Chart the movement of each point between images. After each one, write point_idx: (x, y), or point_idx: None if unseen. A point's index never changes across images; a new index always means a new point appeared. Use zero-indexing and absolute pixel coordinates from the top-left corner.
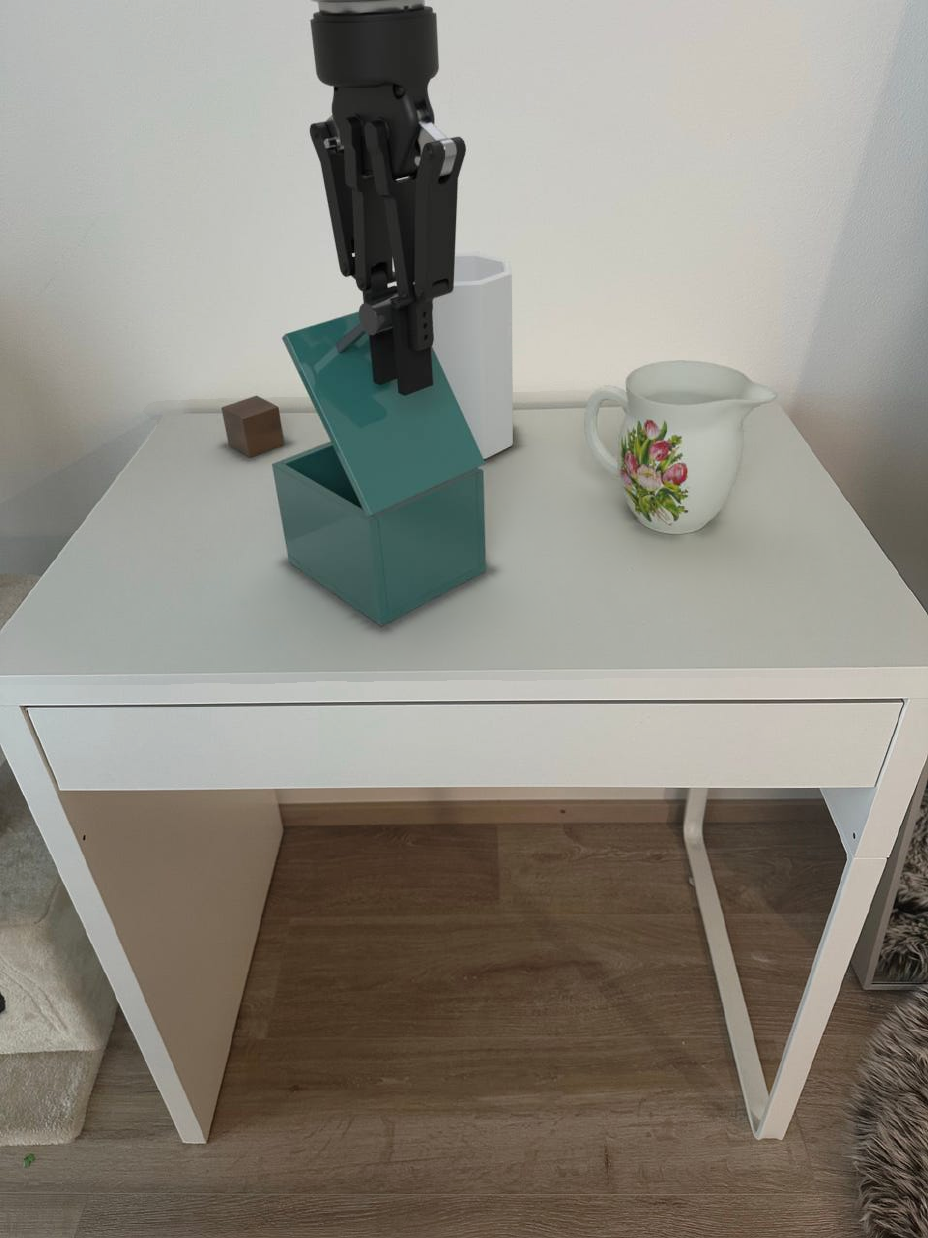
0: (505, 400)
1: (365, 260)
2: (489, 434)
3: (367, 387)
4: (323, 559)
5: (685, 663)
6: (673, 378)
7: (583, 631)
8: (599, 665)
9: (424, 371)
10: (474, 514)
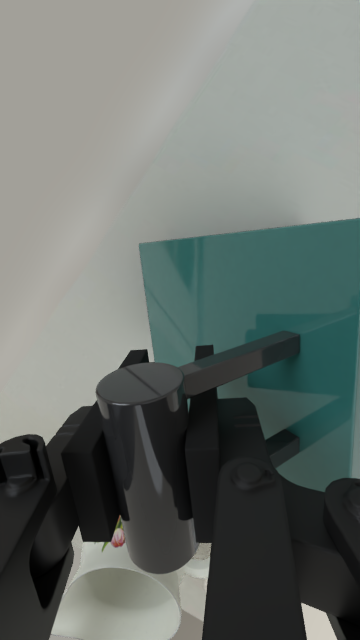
0: None
1: (209, 569)
2: None
3: (228, 336)
4: None
5: (15, 375)
6: (169, 614)
7: (75, 351)
8: (40, 335)
9: None
10: None
